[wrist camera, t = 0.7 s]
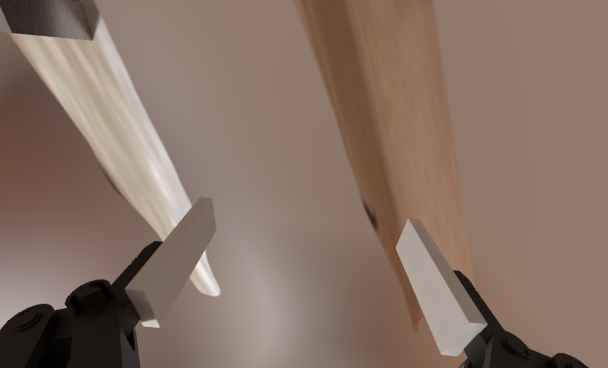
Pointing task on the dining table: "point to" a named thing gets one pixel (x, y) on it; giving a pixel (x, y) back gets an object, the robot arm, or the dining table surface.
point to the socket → (44, 18)
